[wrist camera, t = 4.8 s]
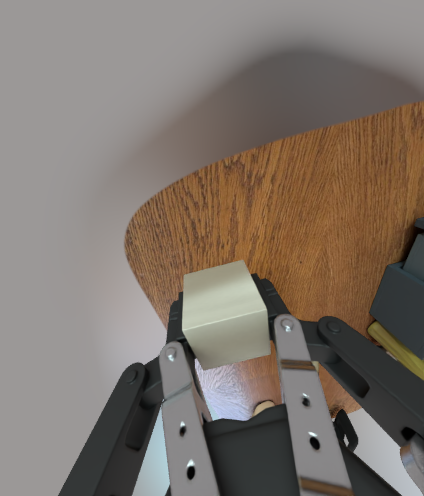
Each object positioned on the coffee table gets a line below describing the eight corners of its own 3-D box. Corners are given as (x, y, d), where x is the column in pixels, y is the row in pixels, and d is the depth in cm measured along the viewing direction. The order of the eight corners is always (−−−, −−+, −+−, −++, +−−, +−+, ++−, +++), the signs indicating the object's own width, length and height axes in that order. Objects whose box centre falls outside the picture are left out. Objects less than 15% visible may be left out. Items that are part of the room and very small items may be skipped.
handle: (272, 430, 63) (309, 494, 50) (325, 387, 71) (367, 433, 58) (273, 446, 70) (304, 506, 58) (320, 406, 79) (357, 450, 66)
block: (183, 274, 12) (181, 330, 8) (243, 259, 12) (267, 309, 8) (199, 313, 14) (203, 370, 10) (249, 300, 14) (271, 354, 10)
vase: (367, 323, 39) (449, 402, 27) (394, 313, 38) (492, 390, 26) (366, 336, 42) (439, 413, 30) (391, 327, 41) (477, 403, 29)
